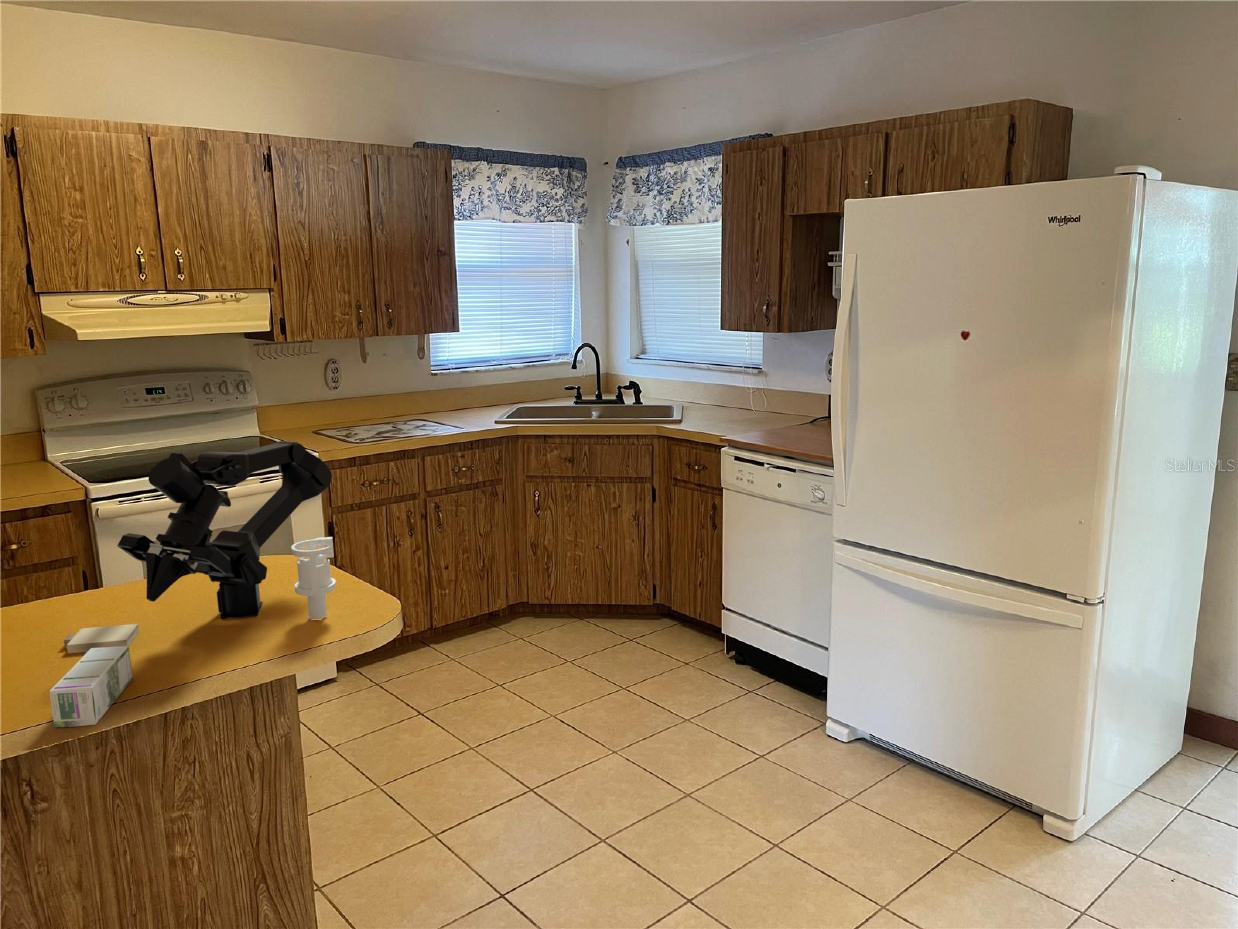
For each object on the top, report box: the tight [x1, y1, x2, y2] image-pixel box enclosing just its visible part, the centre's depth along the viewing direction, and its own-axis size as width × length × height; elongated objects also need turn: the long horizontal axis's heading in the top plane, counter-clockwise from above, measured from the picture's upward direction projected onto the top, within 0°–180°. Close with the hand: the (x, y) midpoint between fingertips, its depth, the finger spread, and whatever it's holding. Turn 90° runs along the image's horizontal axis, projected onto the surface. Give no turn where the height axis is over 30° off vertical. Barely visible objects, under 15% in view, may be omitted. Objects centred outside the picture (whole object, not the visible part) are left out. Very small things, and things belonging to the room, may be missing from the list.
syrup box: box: [49, 646, 134, 728], centre depth 131 cm, size 6×6×14 cm
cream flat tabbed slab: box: [63, 623, 140, 654], centre depth 152 cm, size 10×7×2 cm
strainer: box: [290, 536, 337, 620], centre depth 161 cm, size 7×7×15 cm
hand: (150, 600), depth 145 cm, fingers closed
